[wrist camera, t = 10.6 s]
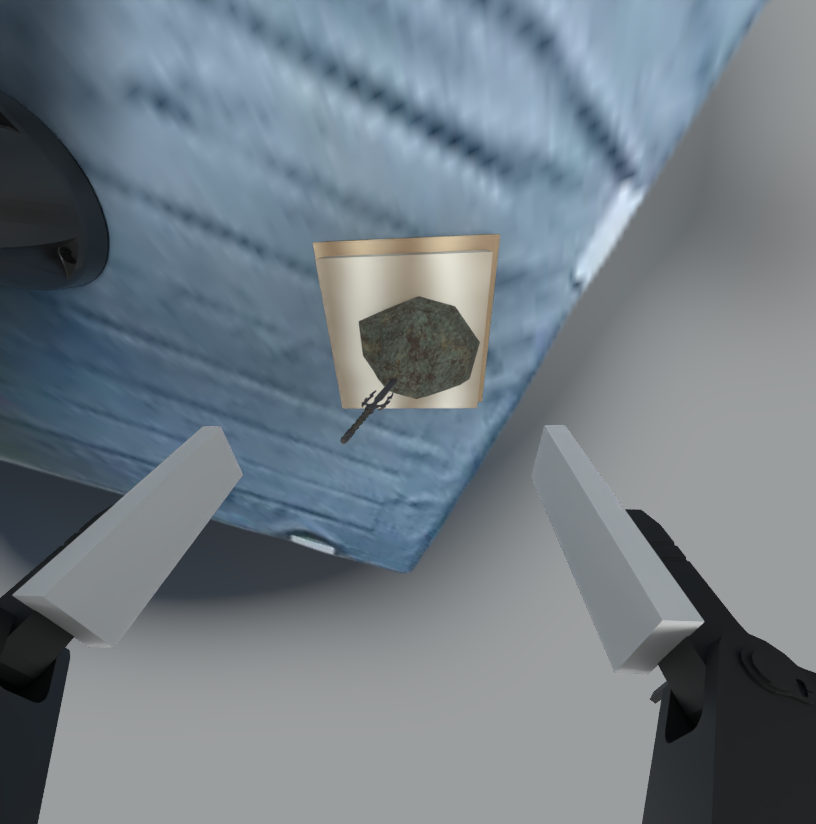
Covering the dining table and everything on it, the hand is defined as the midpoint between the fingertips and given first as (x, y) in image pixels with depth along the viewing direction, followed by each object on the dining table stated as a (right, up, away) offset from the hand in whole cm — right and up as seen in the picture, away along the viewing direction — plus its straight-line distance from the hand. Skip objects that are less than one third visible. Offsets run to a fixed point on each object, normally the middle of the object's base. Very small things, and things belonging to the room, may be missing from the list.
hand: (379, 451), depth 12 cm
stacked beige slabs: (+1, +11, +18) cm, 21 cm away
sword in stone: (+2, +7, +13) cm, 15 cm away
